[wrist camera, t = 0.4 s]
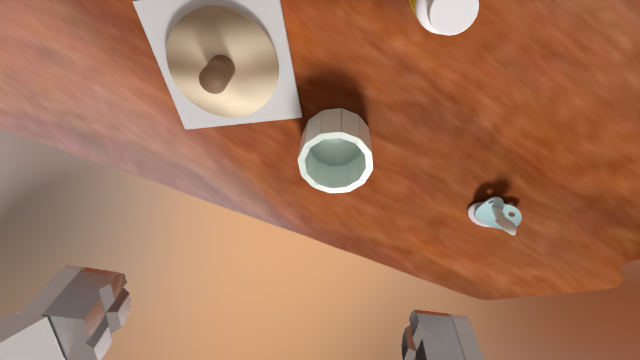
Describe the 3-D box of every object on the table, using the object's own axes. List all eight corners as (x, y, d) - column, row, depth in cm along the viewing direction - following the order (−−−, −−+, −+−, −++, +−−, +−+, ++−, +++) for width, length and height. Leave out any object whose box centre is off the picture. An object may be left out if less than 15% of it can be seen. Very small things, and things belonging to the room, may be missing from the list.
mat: (134, 0, 40) (132, 1, 40) (276, -22, 38) (275, -21, 38) (186, 127, 50) (185, 129, 49) (302, 115, 48) (301, 117, 47)
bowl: (297, 112, 48) (292, 136, 43) (367, 105, 46) (370, 128, 42) (308, 168, 53) (305, 195, 48) (371, 163, 52) (374, 189, 47)
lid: (151, 14, 41) (130, 26, 37) (264, -3, 39) (255, 8, 35) (192, 118, 48) (178, 138, 44) (288, 108, 47) (283, 127, 43)
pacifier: (490, 229, 59) (522, 207, 55) (503, 260, 54) (538, 238, 51) (457, 210, 57) (487, 186, 53) (467, 240, 52) (501, 216, 49)
